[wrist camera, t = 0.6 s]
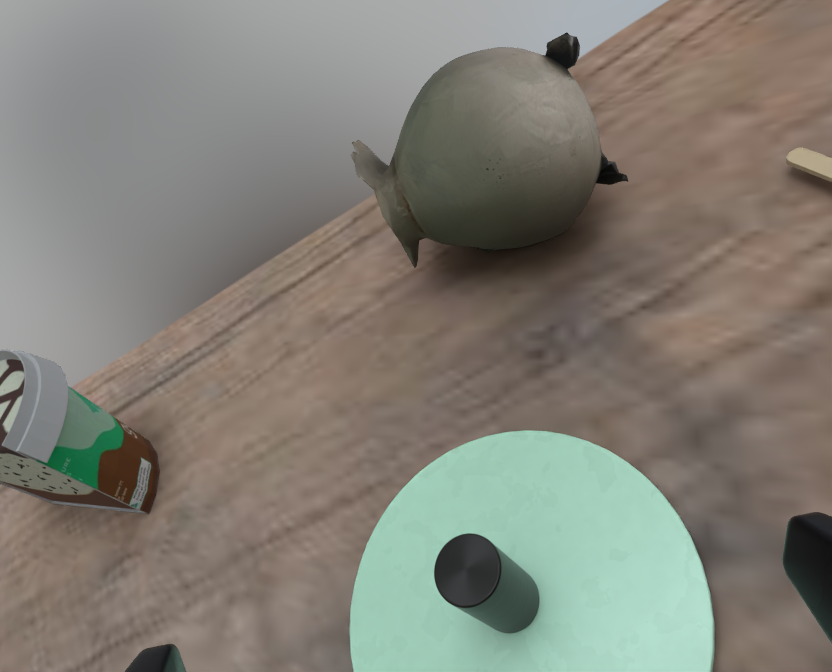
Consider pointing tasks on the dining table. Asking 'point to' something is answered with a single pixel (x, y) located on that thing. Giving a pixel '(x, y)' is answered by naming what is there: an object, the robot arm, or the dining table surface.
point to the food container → (68, 442)
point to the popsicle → (811, 163)
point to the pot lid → (531, 567)
